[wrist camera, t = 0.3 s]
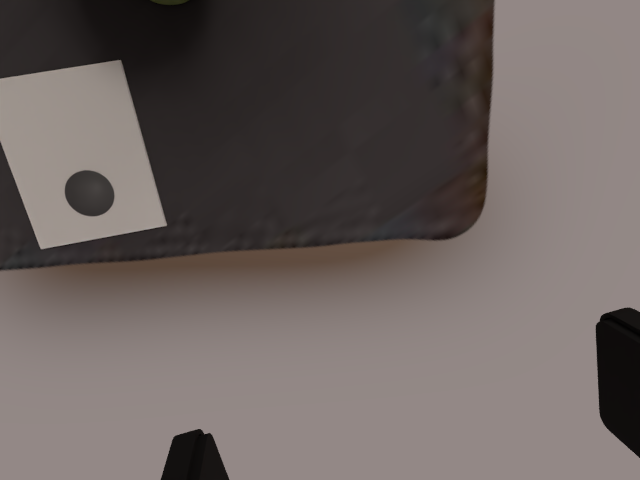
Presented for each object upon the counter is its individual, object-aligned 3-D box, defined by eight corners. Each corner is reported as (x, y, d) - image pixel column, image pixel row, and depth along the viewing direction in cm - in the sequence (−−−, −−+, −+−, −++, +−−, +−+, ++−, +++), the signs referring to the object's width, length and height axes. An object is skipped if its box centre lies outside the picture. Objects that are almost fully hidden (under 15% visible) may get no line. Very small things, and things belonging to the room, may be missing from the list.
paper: (-20, 82, 33) (-23, 82, 33) (121, 60, 34) (119, 59, 34) (42, 248, 37) (40, 249, 37) (167, 224, 38) (166, 226, 38)
